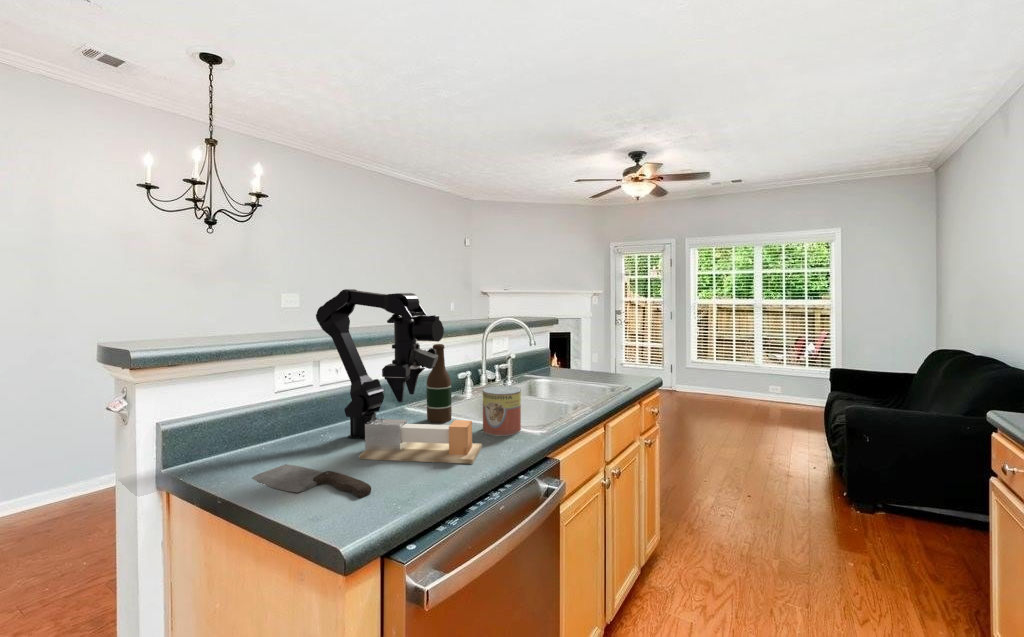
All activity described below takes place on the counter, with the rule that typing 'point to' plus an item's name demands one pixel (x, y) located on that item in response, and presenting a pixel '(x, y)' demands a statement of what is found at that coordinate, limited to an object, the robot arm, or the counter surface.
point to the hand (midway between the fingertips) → (406, 398)
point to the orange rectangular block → (460, 437)
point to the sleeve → (384, 435)
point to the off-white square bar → (424, 433)
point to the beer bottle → (439, 390)
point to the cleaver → (310, 480)
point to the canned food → (501, 410)
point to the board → (424, 453)
